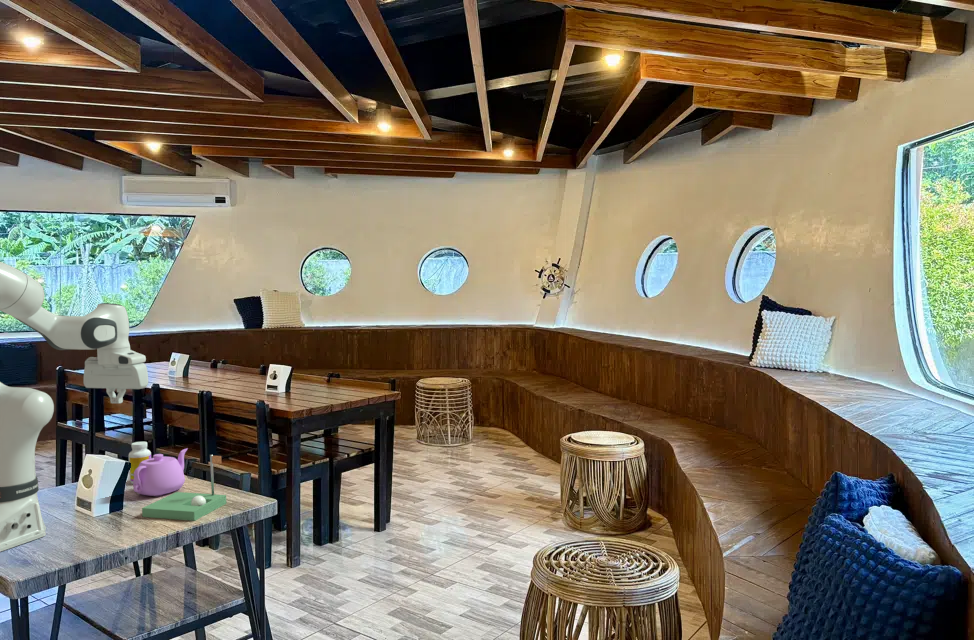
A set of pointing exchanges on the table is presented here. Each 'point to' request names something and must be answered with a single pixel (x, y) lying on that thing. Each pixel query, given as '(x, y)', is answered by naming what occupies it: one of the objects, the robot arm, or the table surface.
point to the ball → (198, 501)
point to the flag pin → (212, 460)
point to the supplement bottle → (138, 456)
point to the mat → (183, 506)
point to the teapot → (159, 475)
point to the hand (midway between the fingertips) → (116, 403)
